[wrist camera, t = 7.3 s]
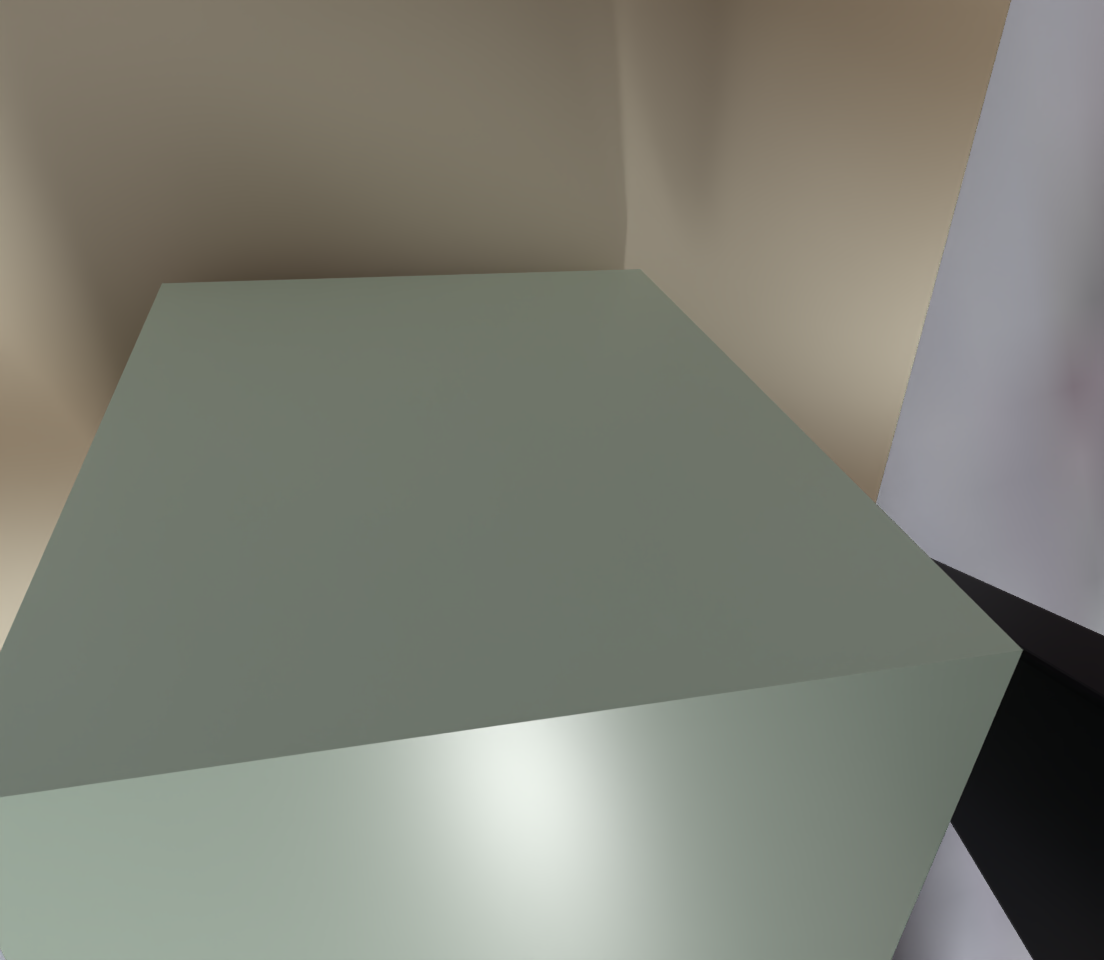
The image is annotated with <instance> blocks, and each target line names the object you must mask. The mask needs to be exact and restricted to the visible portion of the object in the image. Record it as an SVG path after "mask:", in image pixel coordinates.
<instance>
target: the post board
mask: <svg viewBox="0 0 1104 960" xmlns="http://www.w3.org/2000/svg"><path fill="white" fill-rule="evenodd" d="M1010 2H1011V0H0V651H1V649H2V647H3V644H4V642H5V640H6V637H7V635H8V633H9V631H10V628H11V626H12V624H13V621H14V619H15V617H16V615H17V612H18V610H19V608H20V606H21V603H22V601H23V599H24V596H25V594H26V592H27V590H28V587H29V585H30V583H31V580H32V578H33V576H34V574H35V571H36V569H37V567H38V565H39V562H40V560H41V558H42V555H43V553H44V551H45V549H46V546H47V544H48V542H49V539H50V537H51V535H52V533H53V530H54V528H55V526H56V524H57V521H58V519H59V517H60V514H61V512H62V510H63V508H64V505H65V503H66V501H67V498H68V496H69V494H70V492H71V489H72V487H73V485H74V483H75V480H76V478H77V476H78V473H79V471H80V469H81V467H82V464H83V462H84V460H85V457H86V455H87V453H88V451H89V448H90V446H91V444H92V442H93V439H94V437H95V435H96V432H97V430H98V428H99V426H100V423H101V421H102V419H103V416H104V414H105V412H106V410H107V407H108V405H109V403H110V401H111V398H112V396H113V394H114V391H115V389H116V387H117V385H118V382H119V380H120V378H121V375H122V373H123V371H124V369H125V366H126V364H127V362H128V360H129V357H130V355H131V353H132V350H133V348H134V346H135V344H136V341H137V339H138V337H139V334H140V332H141V330H142V328H143V325H144V323H145V321H146V319H147V316H148V314H149V312H150V309H151V307H152V305H153V303H154V300H155V298H156V296H157V293H158V291H159V289H160V287H161V284H162V283H188V282H222V281H256V280H290V279H323V278H357V277H391V276H425V275H458V274H492V273H526V272H560V271H593V270H627V269H641V270H642V271H643V272H644V273H645V274H646V275H647V276H648V277H649V278H650V279H651V280H652V281H653V282H654V283H655V284H656V285H657V286H658V287H659V288H660V289H661V290H662V291H663V292H664V293H665V294H666V295H667V296H668V297H669V298H670V299H671V300H672V301H673V302H674V303H675V304H676V305H677V306H678V307H679V308H680V309H681V310H682V311H683V312H684V313H685V314H686V315H687V316H688V317H689V318H690V319H691V320H692V321H693V322H694V323H695V324H696V325H697V326H698V327H699V328H700V329H701V330H702V331H703V332H704V333H705V334H706V335H707V336H708V337H709V338H710V339H711V340H712V341H713V342H714V343H715V344H716V345H717V346H718V347H719V348H720V349H721V350H722V351H723V352H724V353H725V354H726V355H727V356H728V357H729V358H730V359H731V360H732V361H733V362H734V363H735V364H736V365H737V366H738V367H739V368H740V369H741V370H742V371H743V372H744V373H745V374H746V375H747V376H748V377H749V378H750V379H751V380H752V381H753V382H754V383H755V384H756V385H757V386H758V387H759V388H760V389H761V390H762V391H763V392H764V393H765V394H766V395H767V396H768V397H769V398H770V399H771V400H772V401H773V402H774V403H775V404H776V405H777V406H778V407H779V408H780V409H781V410H782V411H783V412H784V413H785V414H786V415H787V416H788V417H789V418H790V419H791V420H792V421H793V422H794V423H795V424H796V425H797V426H798V427H799V428H800V429H801V430H802V431H803V432H804V433H805V434H806V435H807V436H808V437H809V438H810V439H811V440H812V441H813V442H814V443H815V444H816V445H817V446H818V447H819V448H820V449H821V450H822V451H823V452H824V453H825V454H826V455H827V456H828V457H829V458H830V459H831V460H832V461H833V462H834V463H835V464H836V465H837V466H838V467H839V468H840V469H841V470H842V471H843V472H844V473H845V474H846V475H847V476H848V477H849V478H850V479H851V480H852V481H853V482H854V483H856V484H857V485H858V486H859V487H860V488H861V489H862V490H863V491H864V492H865V493H866V494H867V495H868V496H869V497H870V498H871V499H872V500H873V501H874V502H875V503H876V500H877V496H878V493H879V489H880V485H881V481H882V478H883V474H884V470H885V467H886V463H887V459H888V455H889V452H890V448H891V444H892V441H893V437H894V433H895V429H896V426H897V422H898V418H899V415H900V411H901V407H902V403H903V400H904V396H905V392H906V389H907V385H908V381H909V377H910V374H911V370H912V366H913V363H914V359H915V355H916V351H917V348H918V344H919V340H920V337H921V333H922V329H923V325H924V322H925V318H926V314H927V311H928V307H929V303H930V299H931V296H932V292H933V288H934V285H935V281H936V277H937V273H938V270H939V266H940V262H941V259H942V255H943V251H944V247H945V244H946V240H947V236H948V233H949V229H950V225H951V221H952V218H953V214H954V210H955V207H956V203H957V199H958V195H959V192H960V188H961V184H962V181H963V177H964V173H965V169H966V166H967V162H968V158H969V155H970V151H971V147H972V143H973V140H974V136H975V132H976V129H977V125H978V121H979V117H980V114H981V110H982V106H983V103H984V99H985V95H986V91H987V88H988V84H989V80H990V77H991V73H992V69H993V65H994V62H995V58H996V54H997V51H998V47H999V43H1000V39H1001V36H1002V32H1003V28H1004V25H1005V21H1006V17H1007V13H1008V10H1009V6H1010Z"/></svg>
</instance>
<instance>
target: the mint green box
mask: <svg viewBox="0 0 1104 960" xmlns="http://www.w3.org/2000/svg"><path fill="white" fill-rule="evenodd" d="M1022 651H1023V650H1022V649H1021V648H1020V647H1019V646H1018V645H1017V644H1016V643H1015V642H1014V641H1013V640H1012V639H1011V638H1010V637H1009V636H1008V635H1007V634H1006V633H1005V632H1004V631H1003V630H1002V629H1001V628H1000V627H999V626H998V625H997V624H996V623H995V622H994V621H993V620H992V619H991V618H990V617H989V616H988V615H987V614H986V613H985V612H984V611H983V610H982V609H981V608H980V607H979V606H978V605H977V604H976V603H975V602H974V601H973V600H972V599H971V598H970V597H969V596H968V595H967V594H966V593H965V592H964V591H963V590H962V589H961V588H960V587H959V586H958V585H957V584H956V583H955V582H954V581H953V580H952V579H951V578H950V577H949V576H948V575H947V574H946V573H945V572H944V571H943V570H942V569H941V568H940V567H939V566H938V565H937V564H936V563H935V562H934V561H933V560H932V559H931V558H930V557H929V556H928V555H927V554H926V553H925V552H924V551H923V550H922V549H921V548H920V547H919V546H918V545H917V544H916V543H915V542H914V541H913V540H912V539H911V538H910V537H909V536H908V535H907V534H906V533H905V532H904V531H903V530H902V529H901V528H900V527H899V526H898V525H897V524H896V523H895V522H894V521H893V520H892V519H891V518H890V517H889V516H888V515H887V514H886V513H885V512H884V511H883V510H882V509H881V508H880V507H879V506H878V505H877V504H876V503H875V502H874V501H873V500H872V499H871V498H870V497H869V496H868V495H867V494H866V493H865V492H864V491H863V490H862V489H861V488H860V487H859V486H858V485H857V484H856V483H854V482H853V481H852V480H851V479H850V478H849V477H848V476H847V475H846V474H845V473H844V472H843V471H842V470H841V469H840V468H839V467H838V466H837V465H836V464H835V463H834V462H833V461H832V460H831V459H830V458H829V457H828V456H827V455H826V454H825V453H824V452H823V451H822V450H821V449H820V448H819V447H818V446H817V445H816V444H815V443H814V442H813V441H812V440H811V439H810V438H809V437H808V436H807V435H806V434H805V433H804V432H803V431H802V430H801V429H800V428H799V427H798V426H797V425H796V424H795V423H794V422H793V421H792V420H791V419H790V418H789V417H788V416H787V415H786V414H785V413H784V412H783V411H782V410H781V409H780V408H779V407H778V406H777V405H776V404H775V403H774V402H773V401H772V400H771V399H770V398H769V397H768V396H767V395H766V394H765V393H764V392H763V391H762V390H761V389H760V388H759V387H758V386H757V385H756V384H755V383H754V382H753V381H752V380H751V379H750V378H749V377H748V376H747V375H746V374H745V373H744V372H743V371H742V370H741V369H740V368H739V367H738V366H737V365H736V364H735V363H734V362H733V361H732V360H731V359H730V358H729V357H728V356H727V355H726V354H725V353H724V352H723V351H722V350H721V349H720V348H719V347H718V346H717V345H716V344H715V343H714V342H713V341H712V340H711V339H710V338H709V337H708V336H707V335H706V334H705V333H704V332H703V331H702V330H701V329H700V328H699V327H698V326H697V325H696V324H695V323H694V322H693V321H692V320H691V319H690V318H689V317H688V316H687V315H686V314H685V313H684V312H683V311H682V310H681V309H680V308H679V307H678V306H677V305H676V304H675V303H674V302H673V301H672V300H671V299H670V298H669V297H668V296H667V295H666V294H665V293H664V292H663V291H662V290H661V289H660V288H659V287H658V286H657V285H656V284H655V283H654V282H653V281H652V280H651V279H650V278H649V277H648V276H647V275H646V274H645V273H644V272H643V271H642V270H641V269H627V270H593V271H560V272H526V273H492V274H458V275H425V276H391V277H357V278H323V279H290V280H256V281H222V282H188V283H162V284H161V287H160V289H159V291H158V293H157V296H156V298H155V300H154V303H153V305H152V307H151V309H150V312H149V314H148V316H147V319H146V321H145V323H144V325H143V328H142V330H141V332H140V334H139V337H138V339H137V341H136V344H135V346H134V348H133V350H132V353H131V355H130V357H129V360H128V362H127V364H126V366H125V369H124V371H123V373H122V375H121V378H120V380H119V382H118V385H117V387H116V389H115V391H114V394H113V396H112V398H111V401H110V403H109V405H108V407H107V410H106V412H105V414H104V416H103V419H102V421H101V423H100V426H99V428H98V430H97V432H96V435H95V437H94V439H93V442H92V444H91V446H90V448H89V451H88V453H87V455H86V457H85V460H84V462H83V464H82V467H81V469H80V471H79V473H78V476H77V478H76V480H75V483H74V485H73V487H72V489H71V492H70V494H69V496H68V498H67V501H66V503H65V505H64V508H63V510H62V512H61V514H60V517H59V519H58V521H57V524H56V526H55V528H54V530H53V533H52V535H51V537H50V539H49V542H48V544H47V546H46V549H45V551H44V553H43V555H42V558H41V560H40V562H39V565H38V567H37V569H36V571H35V574H34V576H33V578H32V580H31V583H30V585H29V587H28V590H27V592H26V594H25V596H24V599H23V601H22V603H21V606H20V608H19V610H18V612H17V615H16V617H15V619H14V621H13V624H12V626H11V628H10V631H9V633H8V635H7V637H6V640H5V642H4V644H3V647H2V649H1V651H0V949H1V951H2V953H3V955H4V957H5V959H6V960H891V959H892V957H893V954H894V952H895V950H896V947H897V945H898V943H899V940H900V938H901V936H902V933H903V931H904V929H905V926H906V924H907V922H908V919H909V917H910V914H911V912H912V910H913V907H914V905H915V903H916V900H917V898H918V896H919V893H920V891H921V889H922V886H923V884H924V882H925V879H926V877H927V874H928V872H929V870H930V867H931V865H932V863H933V860H934V858H935V856H936V853H937V851H938V849H939V846H940V844H941V842H942V839H943V837H944V835H945V832H946V830H947V827H948V825H949V823H950V820H951V818H952V816H953V813H954V811H955V809H956V806H957V804H958V802H959V799H960V797H961V795H962V792H963V790H964V787H965V785H966V783H967V780H968V778H969V776H970V773H971V771H972V769H973V766H974V764H975V762H976V759H977V757H978V755H979V752H980V750H981V748H982V745H983V743H984V740H985V738H986V736H987V733H988V731H989V729H990V726H991V724H992V722H993V719H994V717H995V715H996V712H997V710H998V708H999V705H1000V703H1001V700H1002V698H1003V696H1004V693H1005V691H1006V689H1007V686H1008V684H1009V682H1010V679H1011V677H1012V675H1013V672H1014V670H1015V668H1016V665H1017V663H1018V660H1019V658H1020V656H1021V653H1022Z"/></svg>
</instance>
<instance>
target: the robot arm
mask: <svg viewBox="0 0 1104 960" xmlns="http://www.w3.org/2000/svg"><path fill="white" fill-rule="evenodd" d="M931 559H932V558H931ZM932 560H933V561H934V562H935V563H936V564H937V565H938V566H939V567H940V568H941V569H942V570H943V571H944V572H945V573H946V574H947V575H948V576H949V577H950V578H951V579H952V580H953V581H954V582H955V583H956V584H957V585H958V586H959V587H960V588H961V589H962V590H963V591H964V592H965V593H966V594H967V595H968V596H969V597H970V598H971V599H972V600H973V601H974V602H975V603H976V604H977V605H978V606H979V607H980V608H981V609H982V610H983V611H984V612H985V613H986V614H987V615H988V616H989V617H990V618H991V619H992V620H993V621H994V622H995V623H996V624H997V625H998V626H999V627H1000V628H1001V629H1002V630H1003V631H1004V632H1005V633H1006V634H1007V635H1008V636H1009V637H1010V638H1011V639H1012V640H1013V641H1014V642H1015V643H1016V644H1017V645H1018V646H1019V647H1020V648H1021V649H1022V650H1023V651H1022V653H1021V656H1020V658H1019V660H1018V663H1017V665H1016V668H1015V670H1014V672H1013V675H1012V677H1011V679H1010V682H1009V684H1008V686H1007V689H1006V691H1005V693H1004V696H1003V698H1002V700H1001V703H1000V705H999V708H998V710H997V712H996V715H995V717H994V719H993V722H992V724H991V726H990V729H989V731H988V733H987V736H986V738H985V740H984V743H983V745H982V748H981V750H980V752H979V755H978V757H977V759H976V762H975V764H974V766H973V769H972V771H971V773H970V776H969V778H968V780H967V783H966V785H965V787H964V790H963V792H962V795H961V797H960V799H959V802H958V804H957V806H956V809H955V811H954V813H953V816H952V818H951V820H950V822H951V824H952V825H953V827H954V829H955V830H956V832H957V834H958V835H959V837H960V839H961V840H962V842H963V844H964V845H965V847H966V849H967V850H968V852H969V854H970V855H971V857H972V859H973V860H974V862H975V864H976V865H977V867H978V869H979V870H980V872H981V874H982V875H983V877H984V879H985V880H986V882H987V884H988V885H989V887H990V889H991V890H992V892H993V894H994V895H995V897H996V899H997V900H998V902H999V904H1000V905H1001V907H1002V909H1003V910H1004V912H1005V914H1006V915H1007V917H1008V919H1009V920H1010V922H1011V924H1012V925H1013V927H1014V929H1015V930H1016V932H1017V934H1018V935H1019V937H1020V939H1021V940H1022V942H1023V944H1024V945H1025V947H1026V949H1027V950H1028V952H1029V954H1030V955H1031V957H1032V959H1033V960H1104V636H1103V635H1101V634H1099V633H1097V632H1094V631H1092V630H1090V629H1088V628H1085V627H1083V626H1081V625H1079V624H1076V623H1074V622H1072V621H1070V620H1068V619H1065V618H1063V617H1061V616H1059V615H1056V614H1054V613H1052V612H1050V611H1048V610H1045V609H1043V608H1041V607H1039V606H1036V605H1034V604H1032V603H1030V602H1027V601H1025V600H1023V599H1021V598H1019V597H1016V596H1014V595H1012V594H1010V593H1007V592H1005V591H1003V590H1001V589H998V588H996V587H994V586H992V585H990V584H987V583H985V582H983V581H981V580H978V579H976V578H974V577H972V576H970V575H967V574H965V573H963V572H961V571H958V570H956V569H954V568H952V567H949V566H947V565H945V564H943V563H941V562H938V561H936V560H934V559H932Z"/></svg>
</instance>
